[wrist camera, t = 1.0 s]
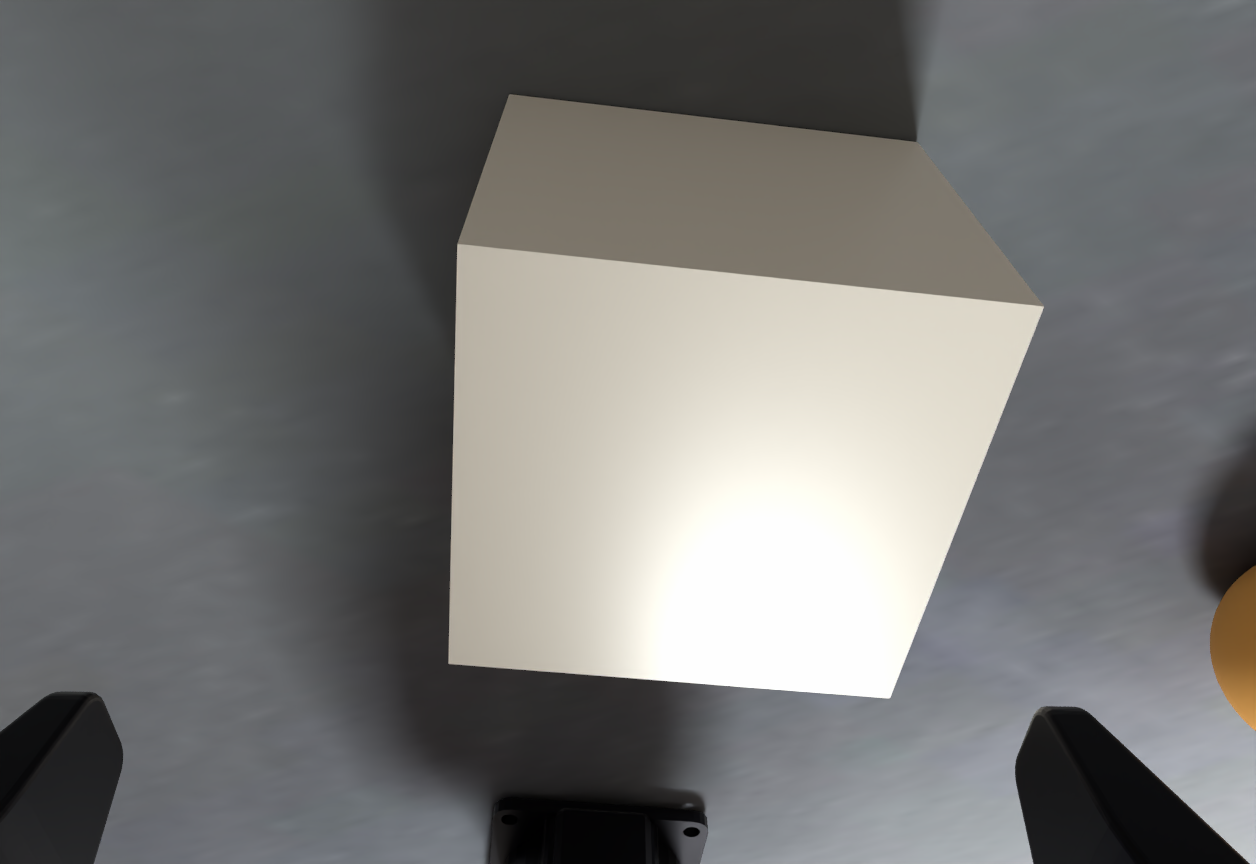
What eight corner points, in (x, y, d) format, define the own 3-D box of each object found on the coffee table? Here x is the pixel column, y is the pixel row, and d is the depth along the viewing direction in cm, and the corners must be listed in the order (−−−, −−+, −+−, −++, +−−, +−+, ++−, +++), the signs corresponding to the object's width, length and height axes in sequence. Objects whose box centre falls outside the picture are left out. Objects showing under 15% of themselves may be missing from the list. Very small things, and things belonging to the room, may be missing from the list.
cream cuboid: (824, 468, 23) (889, 698, 17) (492, 437, 22) (448, 664, 17) (917, 142, 19) (1044, 306, 13) (509, 93, 18) (457, 244, 12)
